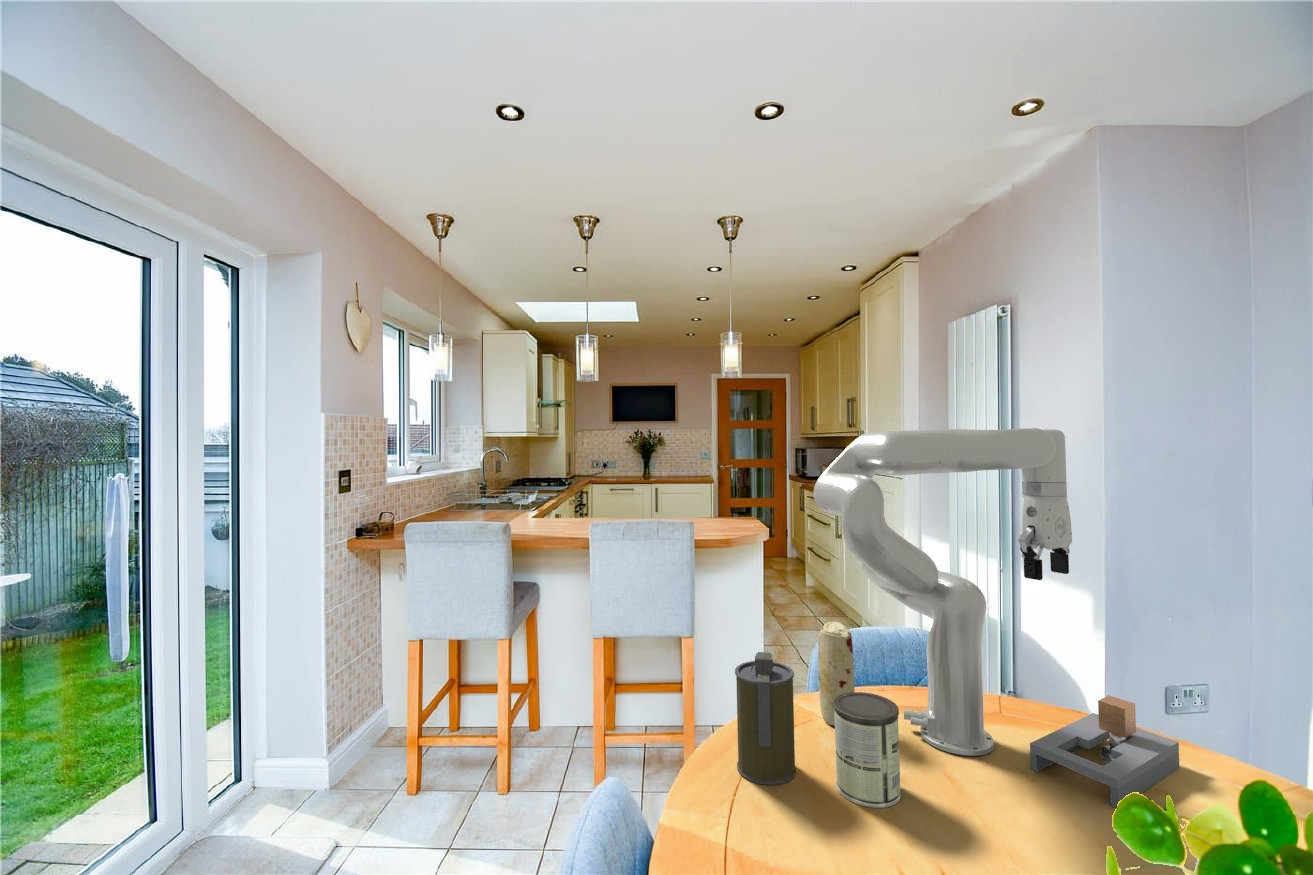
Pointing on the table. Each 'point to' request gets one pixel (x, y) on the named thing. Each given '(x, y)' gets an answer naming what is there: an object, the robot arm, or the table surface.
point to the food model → (834, 666)
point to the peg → (1115, 722)
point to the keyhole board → (1133, 759)
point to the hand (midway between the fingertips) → (1046, 575)
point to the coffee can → (867, 749)
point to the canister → (765, 721)
